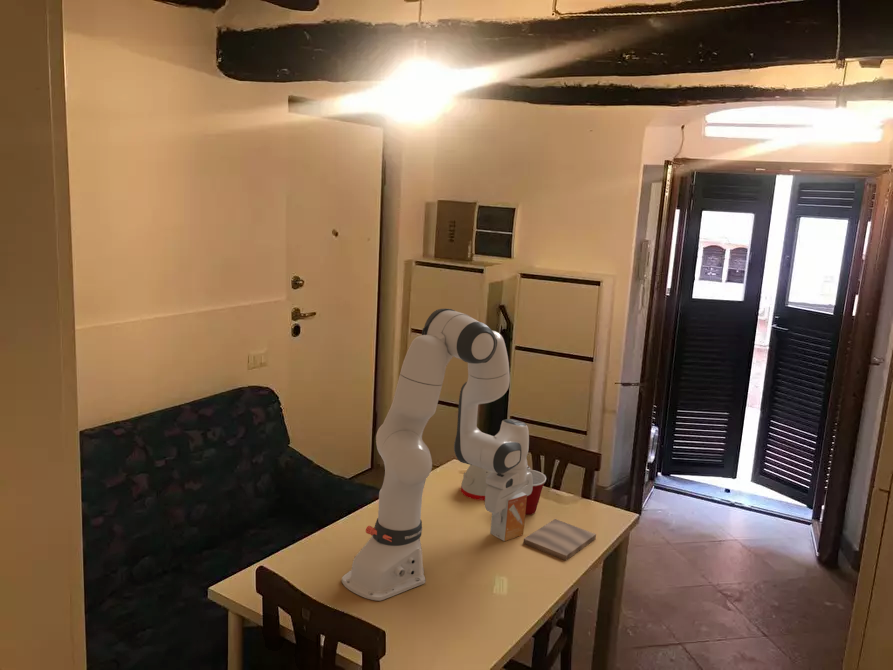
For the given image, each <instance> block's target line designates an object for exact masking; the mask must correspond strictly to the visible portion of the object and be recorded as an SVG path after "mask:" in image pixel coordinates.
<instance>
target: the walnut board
mask: <svg viewBox="0 0 893 670" xmlns="http://www.w3.org/2000/svg"><path fill="white" fill-rule="evenodd" d="M596 538H597V533H594V532H592V531H588V530H586V529H583V528H581V527H578V526H575V525H572V524H570V523H566V522H564V521H561V520H559V519H557V518H554V519H553V520H551V521H549V522H548V523H546V524H545V525H543V526H542V527H540V528H538V529H536V530H535V531H534V532H532V533H530V534H529V535H527V536H525V537H524V538H523V544H524V545H527V546H529V547H532V548H533V549H536V550H538V551H541V552H544V553H546V554H548V555H551V556H553V557H556V558H558V559H561V560H563V561H567V560H569V559H570V558H571V557H573V556H574V555H576V554H577V553H579V552H580V551H582V550H583V549H584V548H585V547H587V546H588V545H590V544H591V543H592V542H594V541H595V540H596Z"/></svg>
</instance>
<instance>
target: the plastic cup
mask: <svg viewBox="0 0 893 670" xmlns="http://www.w3.org/2000/svg"><path fill="white" fill-rule="evenodd" d="M531 474H532V478H533V489H532V492H531V494H530V495H528V496H527V501H526V511H525V516H526V515H528V516H529V515H530V516H531V515H534V514H535V513H536V512H537V508H538V505H539V503H540V502H539V501H540V498H541V495H542V491H543V487H544V485H545V483H546V481H547V476H546V474H544V473H542V472H540V471H538V470H534V469H531Z"/></svg>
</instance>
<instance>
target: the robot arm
mask: <svg viewBox="0 0 893 670" xmlns="http://www.w3.org/2000/svg"><path fill="white" fill-rule="evenodd" d="M453 358H456V359H458V360H461V361H463V362H465V363H467V374H468V375H467V381H465V382H464V383H463V384H462V386H461V388H460V392H459V396H458V397H459V398H458V407H457V408H458V410H457V424H456V425H457V426H456V427H457V428H456V435H455V439H454V441H453V442H454V444H453V450H454V454H455V457H456V459H457V460H458V461H459V462H460V463H461V464H466V465H469V466H470V465H474V466H477V467H480V468H482V469H485V470H489V471H491V473H490V474H489V475H488V476H487V478H486V484H489V485H488V486H487V488H486V493H485V500H484V508H485V510H486V511H487V512H490V513H491V514H492V513H494V516H495V522H496V523H498V524H500V523H501V522H503V517H502V516H501V514H500V513H502V510H503V509H505V508H506V506H507V499H509V498H511V497H513V496H515V495H517V494H519V493H521V492H523V493H525V494H527V496H528V495H530V494H531V492H532V489H533V478H532V474H531V470H532V468H531V467H530V465H528V460H527V458H528V457H527V456H528V453H529V446H530V434H529V433H530V432H529V427H528V425H527V423H525V422H524V421H521V420H517V419H513V418H507V419H503V420H502V421H501V424H500V428H499V431H498V432H497V433H496V434H495V435H491V434H488V433H485V432H482V431H481V430H480V429H479V428H478V426H477V424H478V412H479V411H478V409H479V405H484V404H489V403H492V402H495V401H497V400H499V399H501V398H502V397H503V396H504V395H505V394H506V393H507V391H509V388H510V381H511V376H510V362H509V356H508V351H507V347H506V343H505V339H504V337H503V335H502V334H500V332H498V331H496V330H492V329H491V328H490V327H489V326H488V325H487V324H486V323H484V322H481V321H478V320H477V319H475V318H473V317H472V316H471V315H469V314H467V313H463V312H460V311H456V310H455V309H452V308H439V309H436V310H434V311H433V312H432V313H430V315H429V316H428V318H427V319H426V321H425V323H424V327H423V328H422V331H421V335H417V336H416V337H415V338H414V339H413V340H412V341H411V343H410V345H409V347H408V349H407V351H406V354H405V356H404V359H403V362H402V365H401V369H400V373H399V376H398V380H397V384H396V388H395V391H394V394H393V399H392V403H391V405H390V408H389V410H388V411H387V414H386V416H385V418H384V421H383V423H382V424H381V425H380V426H379V428H378V429H377V432H376V435H375V440H376V441H375V443H376V449H377V452H378V454H379V456H381V459H382V460H383V464H384V465H383V466H384V470H385V471H384V477H383V482H382V486H381V488H380V490H379V492H378V511H377V513H378V515H377V518H376V521H375V523H374V526H371V525H368V526H366V528H365V533H366V534H367V535H370V536H371V537H370V538H369V539H368V541H367V542H366V543H365V545H364V546H363V547H362V548H361V549H360V550H359V552H358V553H357V554H356V555H355V557H354V558H353V560H352V565H351V570H349V571H348V572H347V573H345V574H344V575H343V576H342V577H341V583H342V584H343V586H344V587H345V588H346V589H347V590H349V591H350V592H352V593H354V594H356V595H357V596H360V597H362V598H365V599H368V600H372V601H377V602H378V601H379V602H381V601H384V600H386V599H389V598H391V597H394V596H396V595H399V594H401V593H404V592H406V591H408V590H409V591H410V590H412V589H414V588H416V587H419V586H422V585H424V584H426V577H425V575H424V572H425V569H424V562H423V549H422V544H421V536H422V533H423V532H422V531H423V524H422V523H423V521H422V519H421V517H422V503H423V501H422V500H423V493H424V488H425V483H426V481H427V478H428V477H429V475H430V473H431V472H432V469H433V460H432V455H431V452H430V449H429V447H428V445H427V444H426V443H425V442H424V440H423V434H424V430H425V427H427V424H428V422H429V420H430V418H432V417H433V416H434V415H435V413H436V411H437V407H438V403H439V400H440V396H441V392H442V387H443V384H444V379H445V375H446V369H447V367H448V364H449V363H450V362H451V360H452V359H453Z"/></svg>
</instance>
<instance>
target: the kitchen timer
mask: <svg viewBox="0 0 893 670" xmlns="http://www.w3.org/2000/svg"><path fill="white" fill-rule="evenodd" d="M490 473H491V471H489V470H485V469H482V468H480V467H477V466H474V465H469V466H468V467H467V468H466V471H465V472H463V476H462V477H463V478H462V480H461V485H460V492H461V493H462V495H464V497H467V498H469V499H472V500H476V501H485V493H486V488H487V486H488V485H489V484H486V478H487V476H488V475H489V474H490Z"/></svg>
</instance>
